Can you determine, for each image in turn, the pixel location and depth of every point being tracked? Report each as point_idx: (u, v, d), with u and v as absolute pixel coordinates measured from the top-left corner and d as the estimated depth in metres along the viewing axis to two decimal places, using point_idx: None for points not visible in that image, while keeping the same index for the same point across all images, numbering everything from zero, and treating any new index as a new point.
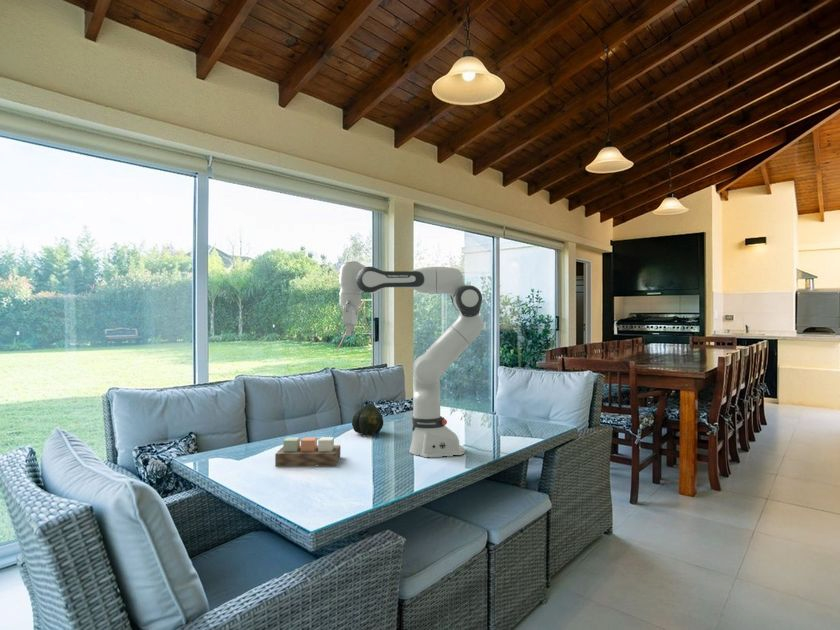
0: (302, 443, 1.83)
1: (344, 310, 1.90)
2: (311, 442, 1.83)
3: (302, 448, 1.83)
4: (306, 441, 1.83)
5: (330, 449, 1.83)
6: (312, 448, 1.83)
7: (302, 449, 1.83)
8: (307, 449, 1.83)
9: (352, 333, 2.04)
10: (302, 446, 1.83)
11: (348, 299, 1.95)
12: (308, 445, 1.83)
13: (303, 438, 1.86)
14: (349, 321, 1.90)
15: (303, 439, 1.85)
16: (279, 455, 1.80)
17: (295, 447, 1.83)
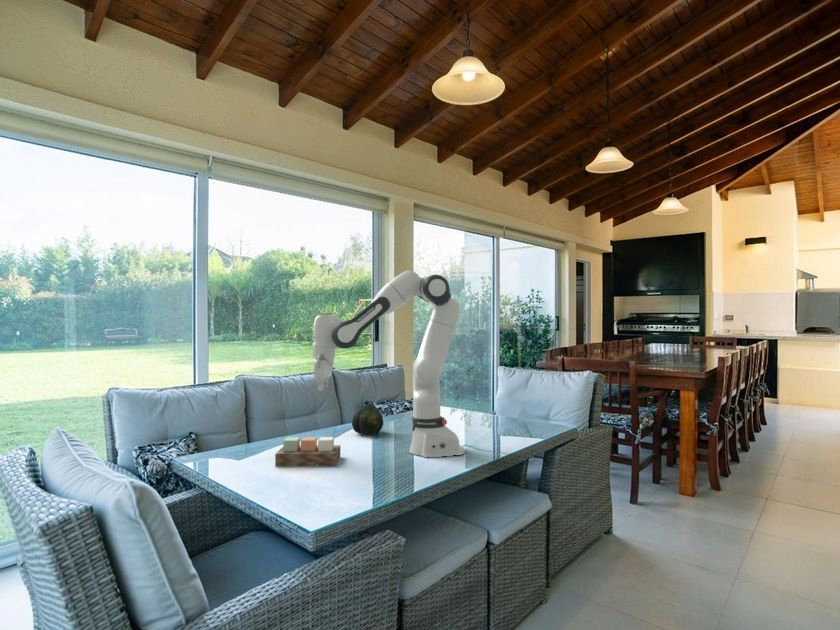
0: (302, 443, 1.83)
1: (316, 365, 1.85)
2: (311, 442, 1.83)
3: (302, 448, 1.83)
4: (306, 441, 1.83)
5: (330, 449, 1.83)
6: (312, 448, 1.83)
7: (302, 449, 1.83)
8: (307, 449, 1.83)
9: (325, 385, 1.99)
10: (302, 446, 1.83)
11: (321, 353, 1.90)
12: (308, 445, 1.83)
13: (303, 438, 1.86)
14: (320, 377, 1.85)
15: (303, 439, 1.85)
16: (279, 455, 1.80)
17: (295, 447, 1.83)
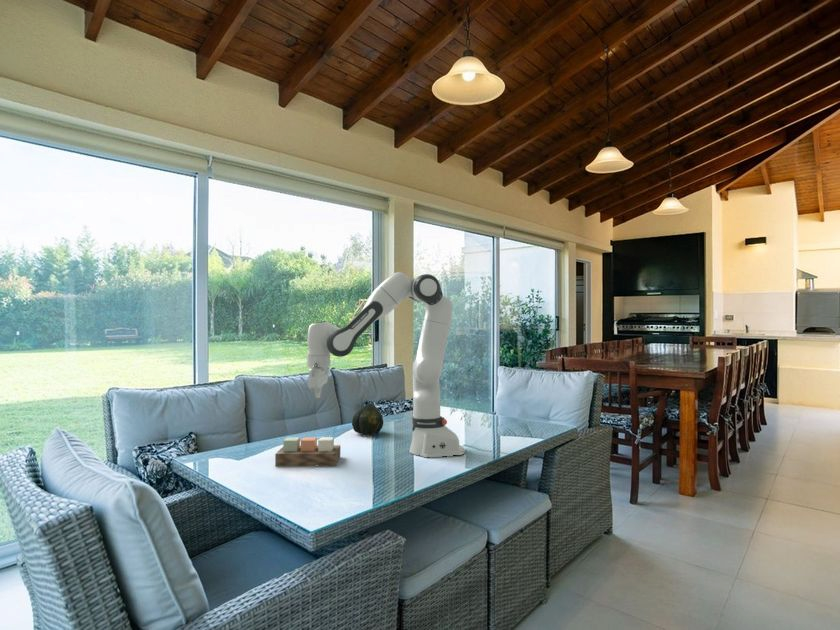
0: (302, 443, 1.83)
1: (310, 374, 1.83)
2: (311, 442, 1.83)
3: (302, 448, 1.83)
4: (306, 441, 1.83)
5: (330, 449, 1.83)
6: (312, 448, 1.83)
7: (302, 449, 1.83)
8: (307, 449, 1.83)
9: None
10: (302, 446, 1.83)
11: (315, 361, 1.88)
12: (308, 445, 1.83)
13: (303, 438, 1.86)
14: (315, 386, 1.83)
15: (303, 439, 1.85)
16: (279, 455, 1.80)
17: (295, 447, 1.83)
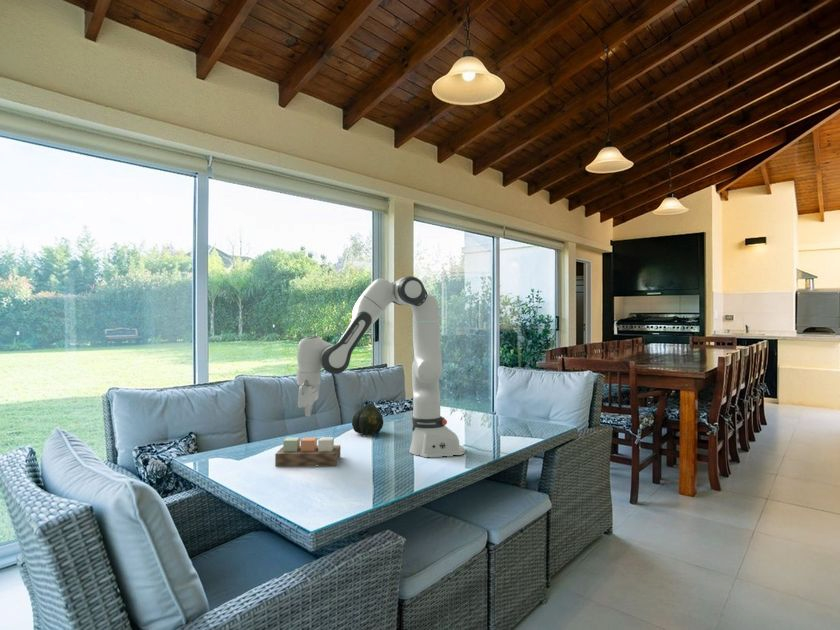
0: (302, 443, 1.83)
1: (300, 393, 1.76)
2: (311, 442, 1.83)
3: (302, 448, 1.83)
4: (306, 441, 1.83)
5: (330, 449, 1.83)
6: (312, 448, 1.83)
7: (302, 449, 1.83)
8: (307, 449, 1.83)
9: None
10: (302, 446, 1.83)
11: (305, 378, 1.82)
12: (308, 445, 1.83)
13: (303, 438, 1.86)
14: (305, 405, 1.76)
15: (303, 439, 1.85)
16: (279, 455, 1.80)
17: (295, 447, 1.83)
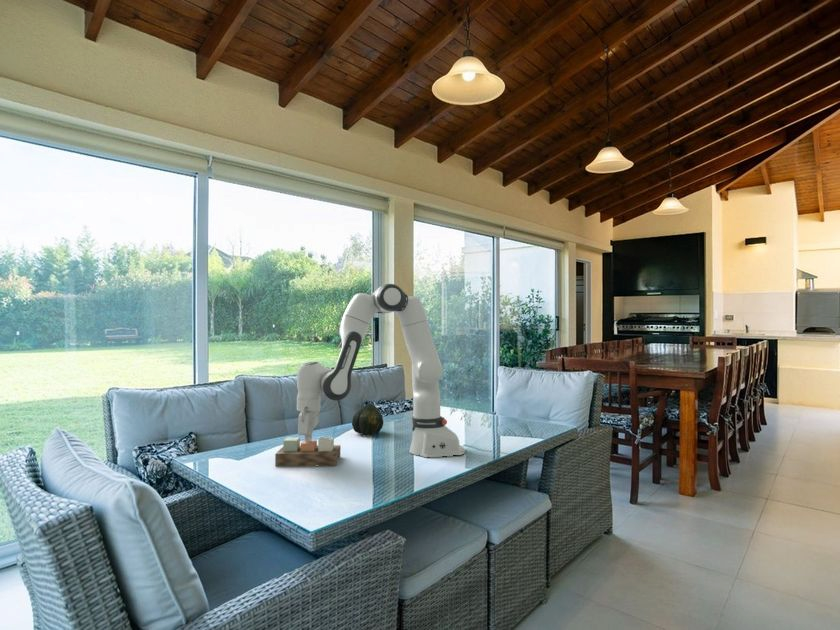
0: (302, 446, 1.83)
1: (300, 420, 1.76)
2: (311, 445, 1.83)
3: None
4: (306, 444, 1.83)
5: (330, 449, 1.83)
6: None
7: None
8: None
9: None
10: (302, 449, 1.83)
11: (305, 405, 1.82)
12: (308, 448, 1.83)
13: (303, 441, 1.86)
14: (305, 432, 1.76)
15: (303, 442, 1.85)
16: (279, 455, 1.80)
17: (295, 447, 1.83)
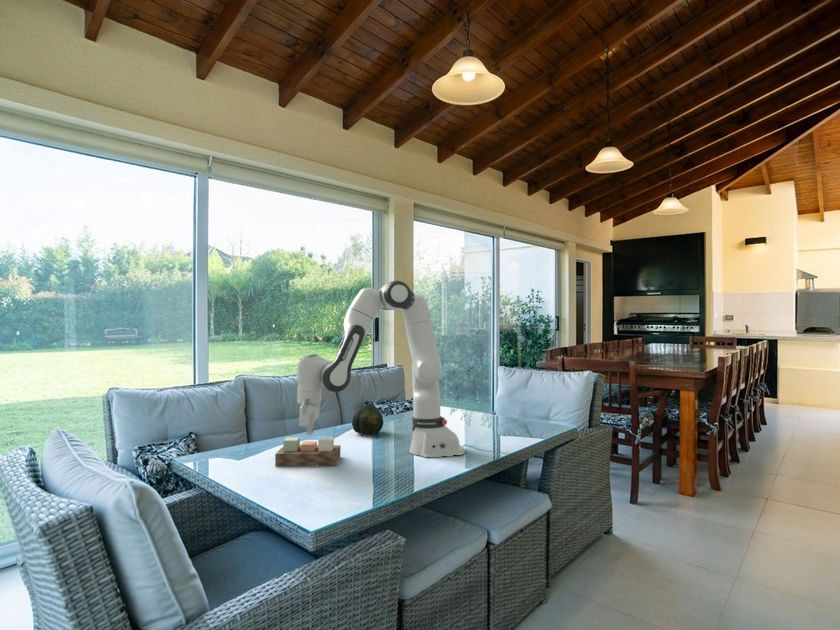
0: (302, 447, 1.83)
1: (301, 412, 1.76)
2: (311, 446, 1.83)
3: None
4: (306, 445, 1.83)
5: (330, 449, 1.83)
6: None
7: None
8: None
9: None
10: (302, 450, 1.83)
11: (306, 397, 1.82)
12: (308, 449, 1.83)
13: (303, 442, 1.86)
14: (306, 424, 1.76)
15: (303, 443, 1.85)
16: (279, 455, 1.80)
17: (295, 447, 1.83)
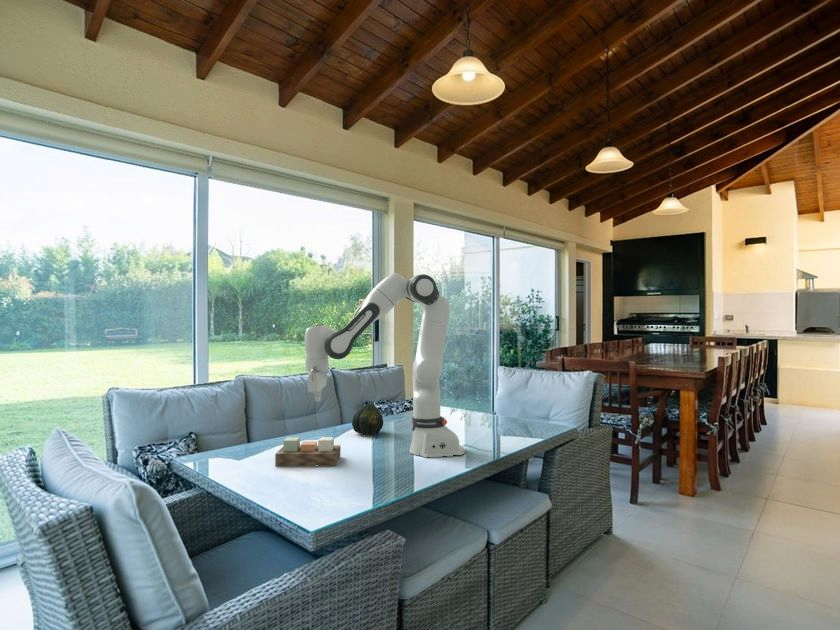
0: (302, 447, 1.83)
1: (309, 378, 1.83)
2: (311, 446, 1.83)
3: None
4: (306, 445, 1.83)
5: (330, 449, 1.83)
6: None
7: None
8: None
9: None
10: (302, 450, 1.83)
11: (314, 365, 1.88)
12: (308, 449, 1.83)
13: (303, 442, 1.86)
14: (315, 390, 1.82)
15: (303, 443, 1.85)
16: (279, 455, 1.80)
17: (295, 447, 1.83)
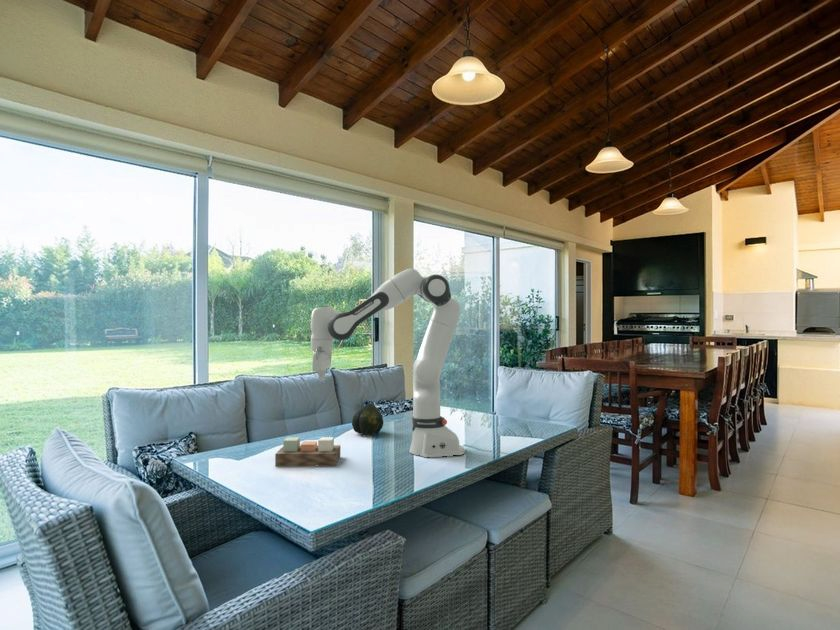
0: (302, 447, 1.83)
1: (314, 357, 1.87)
2: (311, 446, 1.83)
3: None
4: (306, 445, 1.83)
5: (330, 449, 1.83)
6: None
7: None
8: None
9: None
10: (302, 450, 1.83)
11: (319, 345, 1.92)
12: (308, 449, 1.83)
13: (303, 442, 1.86)
14: (319, 369, 1.86)
15: (303, 443, 1.85)
16: (279, 455, 1.80)
17: (295, 447, 1.83)
